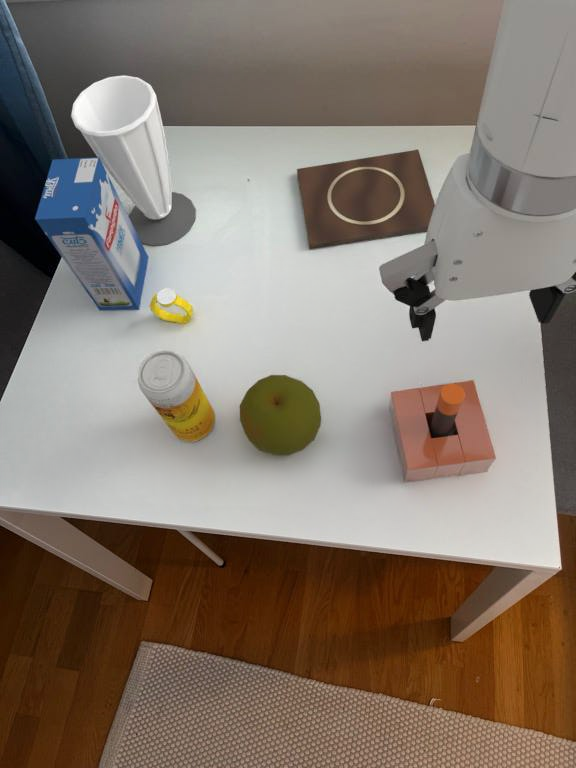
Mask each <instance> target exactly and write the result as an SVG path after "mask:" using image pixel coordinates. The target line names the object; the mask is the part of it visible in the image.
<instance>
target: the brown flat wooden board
mask: <svg viewBox="0 0 576 768" xmlns="http://www.w3.org/2000/svg"><path fill="white" fill-rule="evenodd" d="M420 153H421V152H420V151H419V149H412V150H406V151H401V152H395V153H388V154H387V153H386V154H382V155H374V156H369V157H363V158H356V159H351V160H345V161H344V160H343V161H338V162H332V163H325V164H320V165H312V166H307V167H306V166H305V167H300V168H297V169H296V174H297V180H298V187H299V194H300V199H301V206H302V211H303V217H304V224H305V231H306V236H307V242H308V248H309V249H308V250H315V249H323V248H328V247H334V246H335V247H336V246H341V245H348V244H354V243H360V242H361V243H362V242H368V241H373V240H379V239H380V240H381V239H387V238H393V237H394V238H395V237H401V236H404V235H407V236H408V235H413V234H419V233H427V230H428V226H429V223H430V219H431V216H432V213H433V209H434V206H435V204H436V202H435V200H434V197H433V194H432V190H431V187H430V184H429V180H428V178H427V177H428V176H427V174H426V171H425V166H424V163H423V160H422V157H421V154H420Z"/></svg>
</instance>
